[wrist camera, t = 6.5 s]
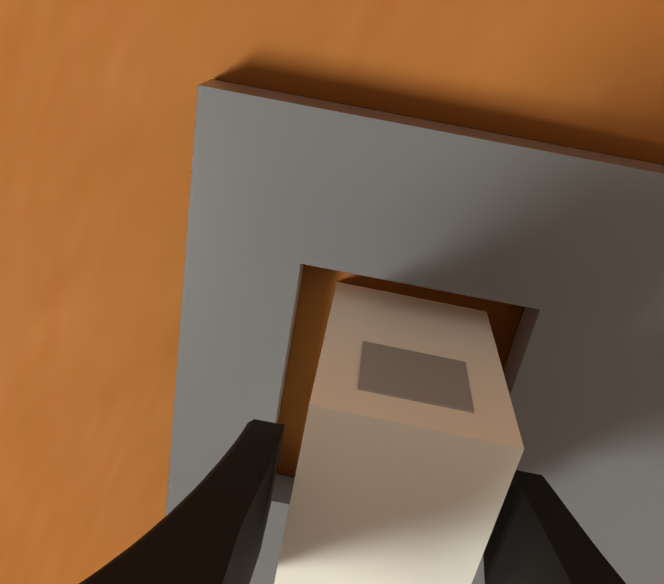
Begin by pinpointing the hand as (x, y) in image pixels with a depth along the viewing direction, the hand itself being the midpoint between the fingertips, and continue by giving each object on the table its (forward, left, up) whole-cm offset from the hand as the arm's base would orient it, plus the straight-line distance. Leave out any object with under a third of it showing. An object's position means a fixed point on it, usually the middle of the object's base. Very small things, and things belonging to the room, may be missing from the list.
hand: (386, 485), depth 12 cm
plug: (0, 0, -4) cm, 4 cm away
